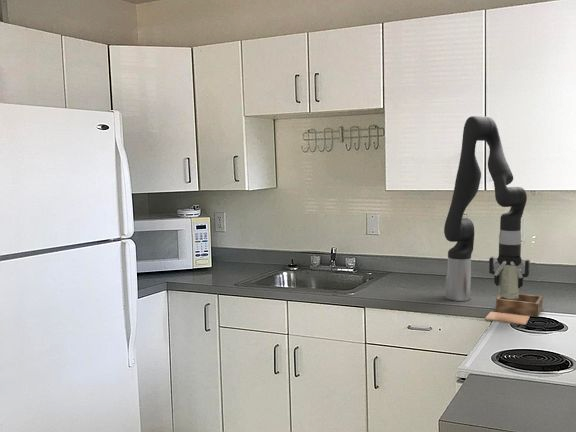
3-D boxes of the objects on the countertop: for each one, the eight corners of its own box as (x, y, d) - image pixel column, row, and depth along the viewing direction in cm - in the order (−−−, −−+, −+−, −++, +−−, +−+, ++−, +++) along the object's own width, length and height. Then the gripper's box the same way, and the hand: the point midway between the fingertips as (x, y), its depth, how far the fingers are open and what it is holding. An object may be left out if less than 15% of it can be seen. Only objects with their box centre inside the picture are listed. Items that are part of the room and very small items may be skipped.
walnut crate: (495, 311, 239) (496, 299, 238) (501, 304, 249) (502, 291, 249) (537, 317, 232) (538, 303, 231) (542, 308, 242) (542, 296, 241)
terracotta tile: (484, 319, 229) (485, 318, 229) (490, 312, 238) (490, 311, 238) (525, 325, 223) (525, 323, 223) (529, 317, 231) (529, 316, 231)
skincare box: (518, 298, 227) (519, 265, 225) (508, 299, 226) (509, 266, 224) (507, 294, 233) (508, 262, 231) (497, 295, 232) (498, 262, 230)
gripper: (487, 242, 227) (486, 286, 229) (529, 245, 220) (527, 291, 222) (491, 239, 233) (490, 282, 235) (532, 241, 226) (531, 286, 228)
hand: (508, 286), depth 229 cm, fingers closed on skincare box, 7 cm apart
